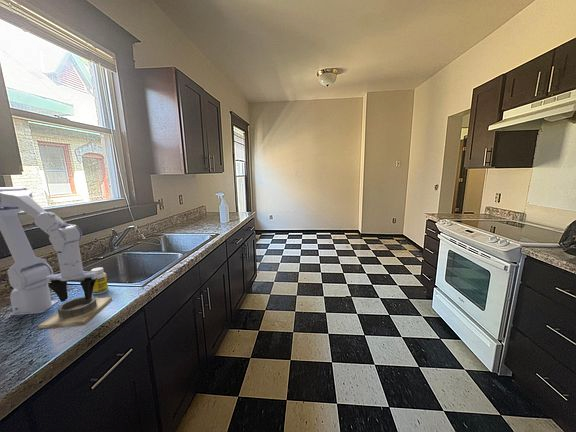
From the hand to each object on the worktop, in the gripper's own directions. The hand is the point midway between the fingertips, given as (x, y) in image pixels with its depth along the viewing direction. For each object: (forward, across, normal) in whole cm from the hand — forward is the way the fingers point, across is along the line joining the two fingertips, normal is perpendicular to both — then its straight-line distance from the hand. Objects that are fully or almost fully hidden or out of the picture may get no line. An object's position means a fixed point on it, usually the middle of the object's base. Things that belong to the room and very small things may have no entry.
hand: (76, 299), depth 85 cm
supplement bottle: (+5, -2, +16) cm, 17 cm away
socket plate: (+5, 0, 0) cm, 5 cm away
